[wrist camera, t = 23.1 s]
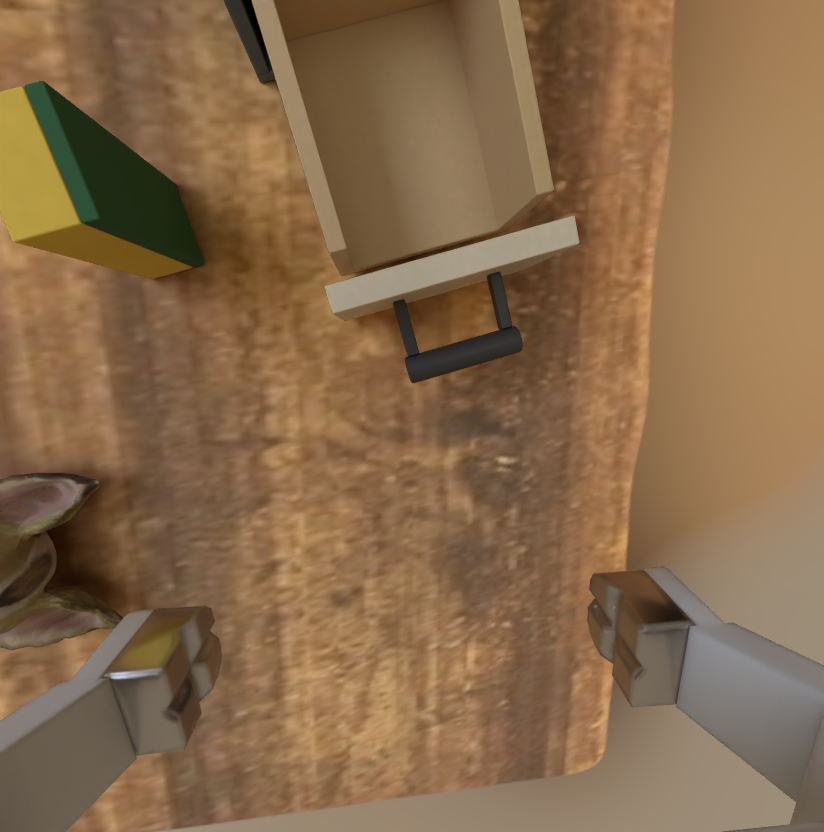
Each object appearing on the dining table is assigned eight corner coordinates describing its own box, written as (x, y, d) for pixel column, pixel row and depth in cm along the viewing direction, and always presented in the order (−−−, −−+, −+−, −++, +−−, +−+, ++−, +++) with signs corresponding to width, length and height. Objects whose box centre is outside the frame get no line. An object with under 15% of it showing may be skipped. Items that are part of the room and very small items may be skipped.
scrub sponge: (118, 198, 22) (-52, 103, 13) (175, 182, 22) (42, 78, 13) (151, 279, 23) (12, 242, 14) (205, 264, 23) (100, 218, 14)
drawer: (538, 338, 25) (597, 337, 18) (365, 388, 24) (361, 406, 18) (465, -8, 21) (506, -165, 14) (259, 46, 21) (205, -91, 14)
